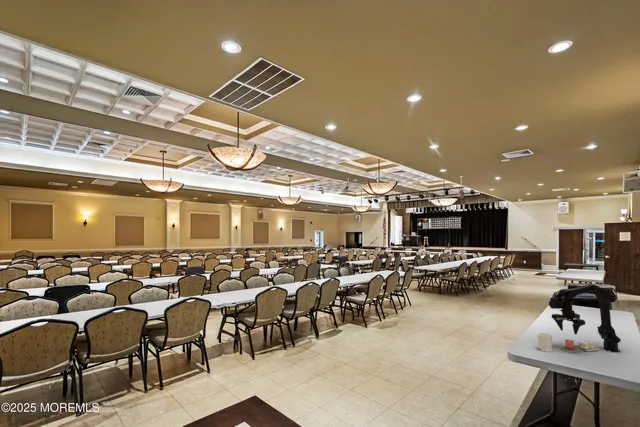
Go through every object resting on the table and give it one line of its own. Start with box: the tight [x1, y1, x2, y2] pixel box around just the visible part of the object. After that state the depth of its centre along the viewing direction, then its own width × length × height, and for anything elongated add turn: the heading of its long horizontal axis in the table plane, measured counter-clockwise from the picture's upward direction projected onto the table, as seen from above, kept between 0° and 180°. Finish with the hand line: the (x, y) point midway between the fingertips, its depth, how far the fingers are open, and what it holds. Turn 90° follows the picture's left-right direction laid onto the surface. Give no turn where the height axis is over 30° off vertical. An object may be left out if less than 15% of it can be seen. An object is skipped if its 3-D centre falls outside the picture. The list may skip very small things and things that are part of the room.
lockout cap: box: [564, 339, 575, 351], centre depth 209 cm, size 5×5×6 cm
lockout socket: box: [558, 345, 582, 354], centre depth 209 cm, size 8×11×1 cm
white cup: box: [537, 332, 553, 353], centre depth 210 cm, size 8×8×10 cm
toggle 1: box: [580, 341, 589, 349], centre depth 208 cm, size 3×3×4 cm
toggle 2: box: [586, 341, 596, 349], centre depth 210 cm, size 3×3×4 cm
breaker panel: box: [574, 343, 599, 353], centre depth 211 cm, size 11×10×1 cm
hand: (568, 332), depth 209 cm, fingers open, 9 cm apart
